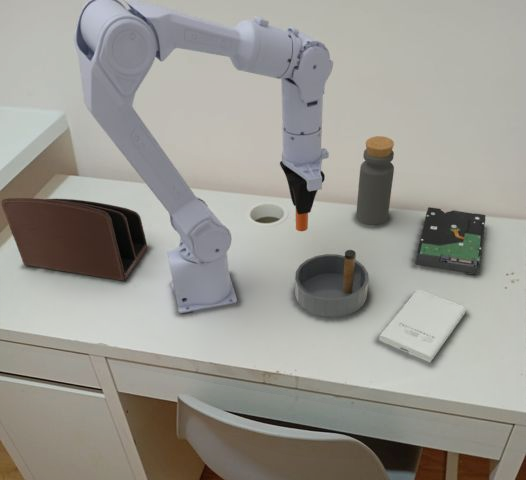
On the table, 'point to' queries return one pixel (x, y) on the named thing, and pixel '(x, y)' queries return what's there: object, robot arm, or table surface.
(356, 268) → the pot
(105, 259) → the letter holder
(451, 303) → the hard drive
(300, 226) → the marker
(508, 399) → the table surface
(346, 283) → the brown slender rod
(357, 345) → the table surface
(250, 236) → the table surface
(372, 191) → the bottle
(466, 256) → the disk drive
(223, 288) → the robot arm
